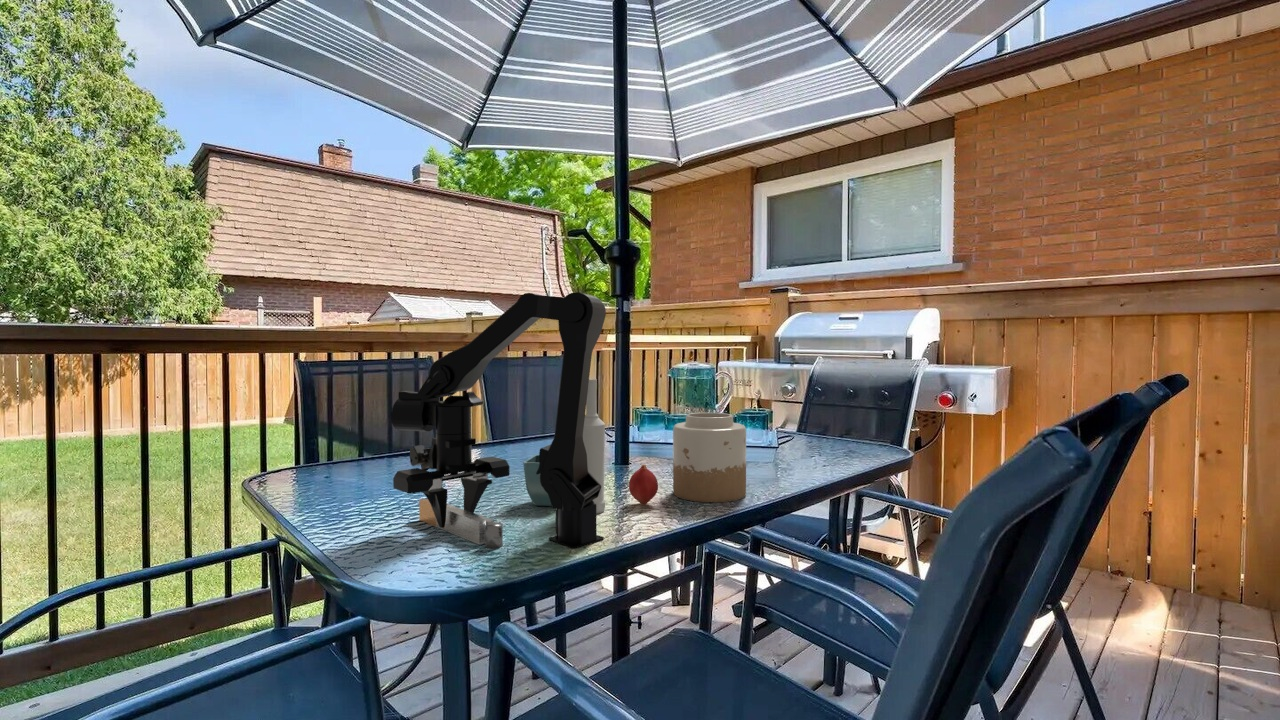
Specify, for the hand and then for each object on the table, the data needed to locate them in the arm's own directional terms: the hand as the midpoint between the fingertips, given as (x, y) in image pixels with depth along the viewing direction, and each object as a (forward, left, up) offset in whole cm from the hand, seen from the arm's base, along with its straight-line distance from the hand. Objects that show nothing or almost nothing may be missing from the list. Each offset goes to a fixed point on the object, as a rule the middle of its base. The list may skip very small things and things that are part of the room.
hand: (454, 524), depth 105 cm
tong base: (-2, 0, -1) cm, 2 cm away
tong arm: (0, +1, -1) cm, 1 cm away
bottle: (-7, -25, -1) cm, 26 cm away
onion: (-11, -35, -1) cm, 36 cm away
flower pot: (+3, -23, -1) cm, 23 cm away
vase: (-15, -51, -2) cm, 53 cm away
